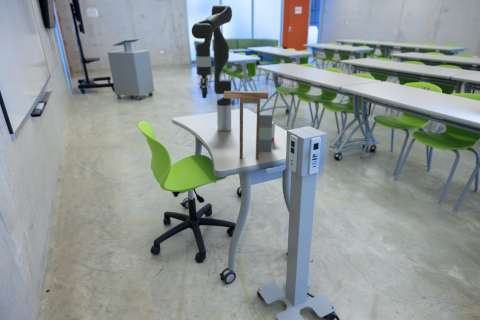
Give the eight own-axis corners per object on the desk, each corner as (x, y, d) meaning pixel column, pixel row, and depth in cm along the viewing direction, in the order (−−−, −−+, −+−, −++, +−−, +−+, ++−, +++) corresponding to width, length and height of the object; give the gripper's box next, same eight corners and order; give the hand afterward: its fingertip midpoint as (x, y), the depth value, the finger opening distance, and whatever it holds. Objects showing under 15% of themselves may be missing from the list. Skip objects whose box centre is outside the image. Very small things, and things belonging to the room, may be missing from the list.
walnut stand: (240, 154, 171) (240, 96, 158) (258, 154, 170) (260, 96, 157) (239, 158, 165) (239, 99, 152) (258, 159, 165) (260, 99, 152)
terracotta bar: (224, 96, 157) (224, 91, 155) (268, 97, 156) (268, 91, 154) (223, 98, 154) (223, 92, 153) (268, 99, 153) (268, 92, 152)
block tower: (256, 147, 180) (257, 112, 172) (270, 147, 180) (272, 112, 171) (256, 151, 175) (257, 115, 166) (270, 151, 175) (272, 115, 166)
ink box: (272, 138, 193) (273, 120, 188) (274, 141, 189) (275, 123, 184) (258, 139, 192) (259, 121, 187) (260, 142, 187) (261, 123, 182)
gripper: (210, 67, 155) (211, 99, 162) (211, 63, 168) (212, 93, 175) (195, 67, 155) (196, 99, 162) (197, 63, 168) (199, 93, 175)
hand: (205, 96), depth 168 cm, fingers open, 8 cm apart
